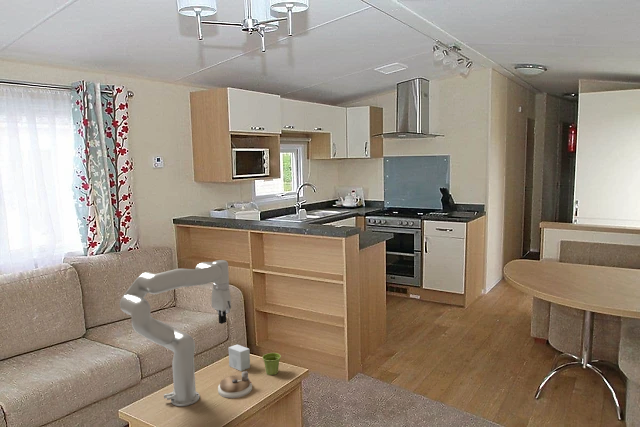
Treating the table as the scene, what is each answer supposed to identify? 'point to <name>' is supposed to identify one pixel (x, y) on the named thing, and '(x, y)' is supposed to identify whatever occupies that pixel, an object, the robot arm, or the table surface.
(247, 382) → the dial
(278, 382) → the table surface
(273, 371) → the plant pot
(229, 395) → the stand
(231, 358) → the skincare box
